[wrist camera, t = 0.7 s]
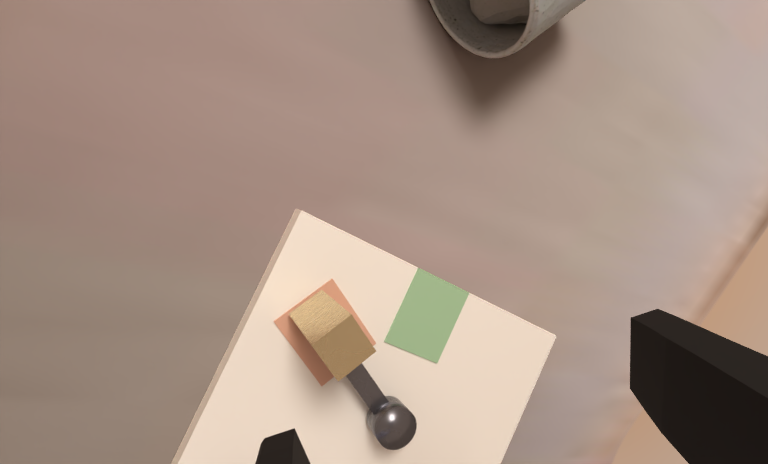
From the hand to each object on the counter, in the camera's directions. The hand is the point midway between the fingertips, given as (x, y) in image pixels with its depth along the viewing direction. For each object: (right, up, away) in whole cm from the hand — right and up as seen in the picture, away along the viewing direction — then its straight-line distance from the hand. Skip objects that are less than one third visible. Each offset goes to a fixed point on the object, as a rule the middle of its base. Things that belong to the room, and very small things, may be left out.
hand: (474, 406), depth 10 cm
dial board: (-2, -6, +19) cm, 20 cm away
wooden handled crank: (-3, -4, +16) cm, 17 cm away
